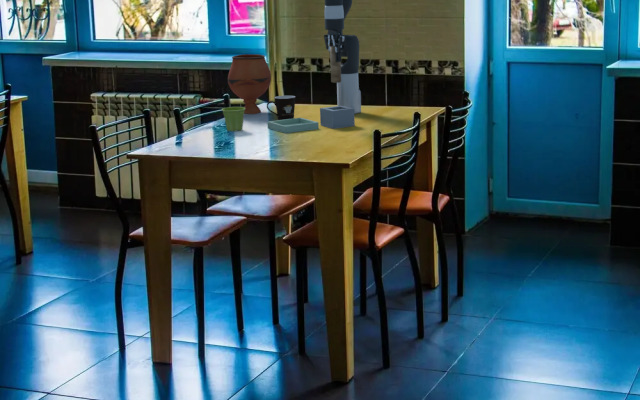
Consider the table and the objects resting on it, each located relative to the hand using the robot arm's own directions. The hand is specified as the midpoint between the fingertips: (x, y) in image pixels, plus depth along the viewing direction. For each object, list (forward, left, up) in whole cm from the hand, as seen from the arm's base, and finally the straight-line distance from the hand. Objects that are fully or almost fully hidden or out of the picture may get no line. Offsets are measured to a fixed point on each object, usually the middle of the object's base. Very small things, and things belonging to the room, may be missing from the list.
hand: (335, 61), depth 410 cm
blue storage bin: (0, 0, -26) cm, 26 cm away
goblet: (+12, -55, -26) cm, 62 cm away
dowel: (0, 0, -8) cm, 8 cm away
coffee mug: (+12, -25, -26) cm, 38 cm away
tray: (+17, -6, -26) cm, 32 cm away
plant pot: (+37, -18, -26) cm, 49 cm away
